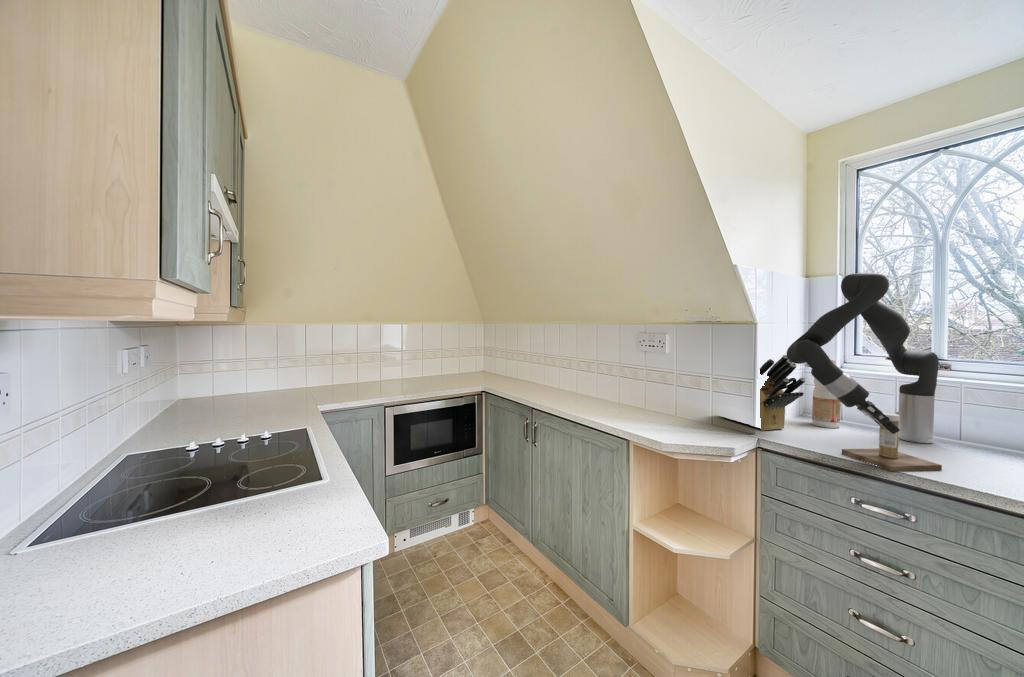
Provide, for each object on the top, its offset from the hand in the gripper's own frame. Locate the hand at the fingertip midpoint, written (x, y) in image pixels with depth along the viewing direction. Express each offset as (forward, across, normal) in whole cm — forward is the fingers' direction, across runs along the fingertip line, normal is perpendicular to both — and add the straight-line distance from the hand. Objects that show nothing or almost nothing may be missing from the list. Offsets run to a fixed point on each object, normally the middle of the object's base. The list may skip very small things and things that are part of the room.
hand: (890, 428), depth 123 cm
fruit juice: (+3, +47, +12) cm, 48 cm away
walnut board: (+7, 0, +8) cm, 10 cm away
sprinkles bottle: (+6, 0, +7) cm, 9 cm away
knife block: (-16, +32, +31) cm, 47 cm away
